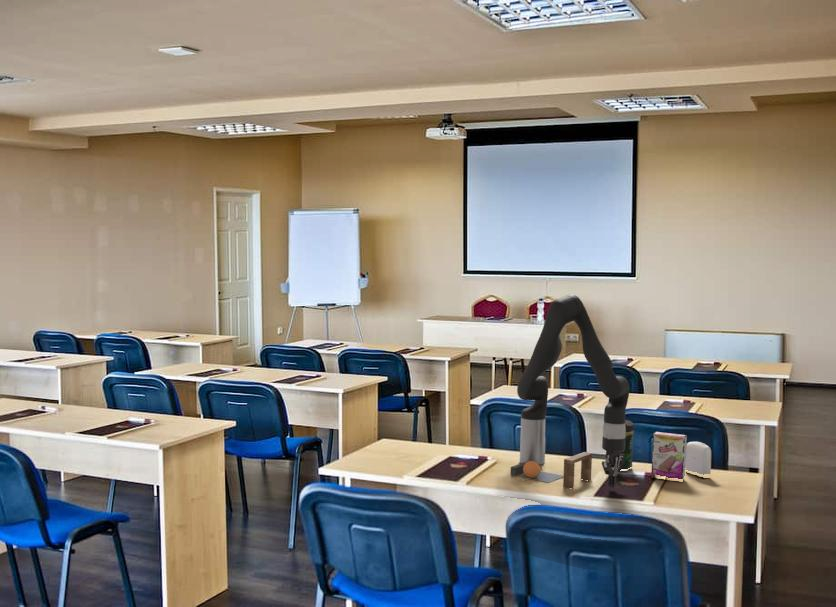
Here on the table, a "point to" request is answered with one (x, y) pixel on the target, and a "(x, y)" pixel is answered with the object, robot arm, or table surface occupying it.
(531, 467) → the ball
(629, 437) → the coffee jar
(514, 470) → the stopper bar
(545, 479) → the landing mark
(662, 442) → the candy bar box
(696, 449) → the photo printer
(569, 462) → the bridge
